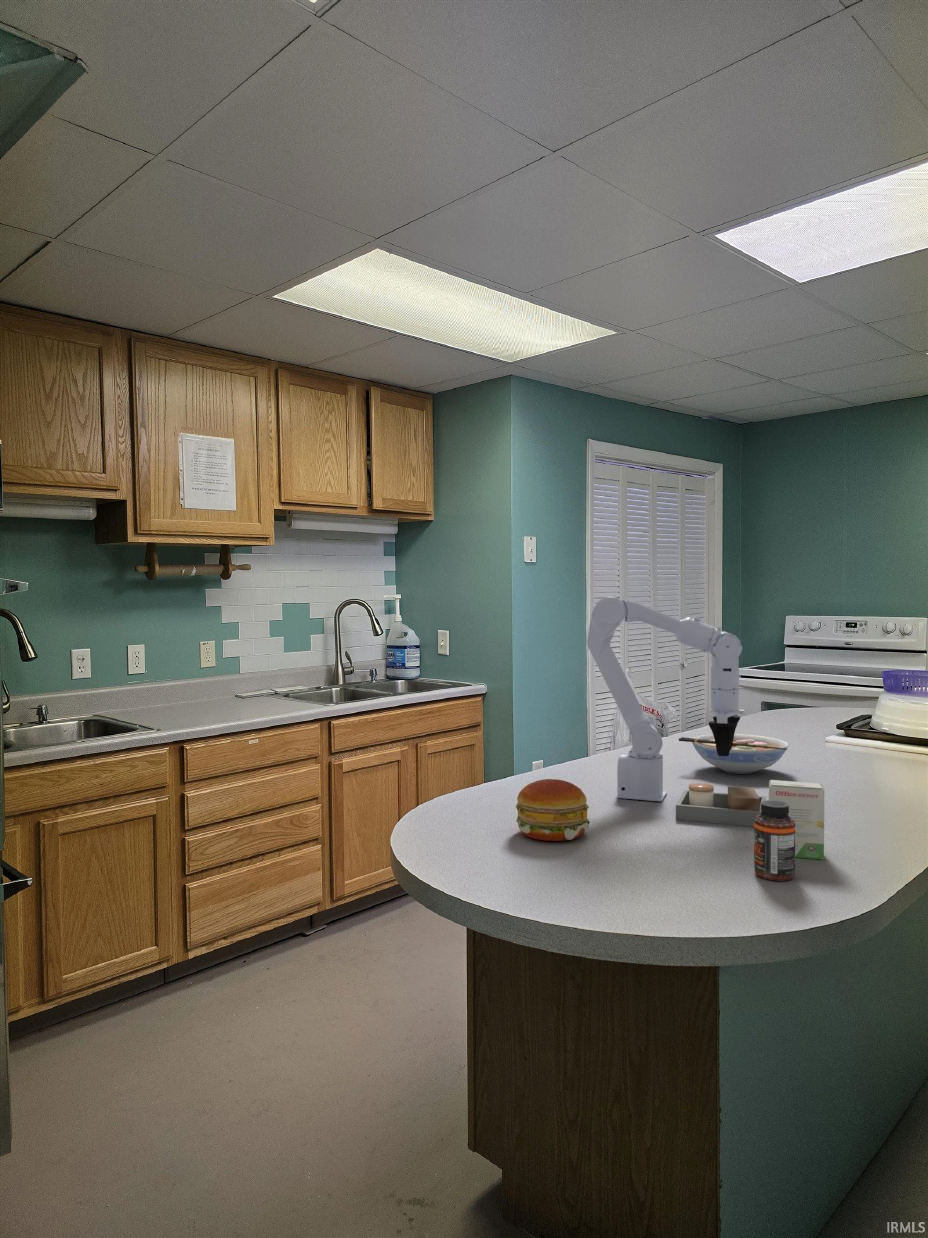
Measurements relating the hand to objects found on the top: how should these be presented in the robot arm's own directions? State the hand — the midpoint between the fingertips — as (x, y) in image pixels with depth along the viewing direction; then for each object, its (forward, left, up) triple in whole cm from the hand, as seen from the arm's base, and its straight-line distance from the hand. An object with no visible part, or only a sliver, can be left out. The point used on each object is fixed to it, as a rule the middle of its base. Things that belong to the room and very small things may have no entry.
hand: (724, 752), depth 173 cm
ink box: (+14, -34, -10) cm, 38 cm away
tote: (0, -14, -10) cm, 17 cm away
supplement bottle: (+11, -47, -10) cm, 49 cm away
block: (+4, -14, -10) cm, 17 cm away
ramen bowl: (+1, +30, -10) cm, 32 cm away
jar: (-3, -14, -10) cm, 17 cm away
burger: (-27, -38, -10) cm, 48 cm away
